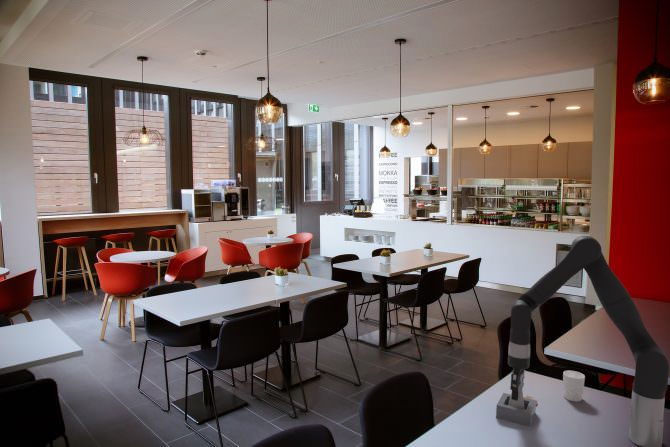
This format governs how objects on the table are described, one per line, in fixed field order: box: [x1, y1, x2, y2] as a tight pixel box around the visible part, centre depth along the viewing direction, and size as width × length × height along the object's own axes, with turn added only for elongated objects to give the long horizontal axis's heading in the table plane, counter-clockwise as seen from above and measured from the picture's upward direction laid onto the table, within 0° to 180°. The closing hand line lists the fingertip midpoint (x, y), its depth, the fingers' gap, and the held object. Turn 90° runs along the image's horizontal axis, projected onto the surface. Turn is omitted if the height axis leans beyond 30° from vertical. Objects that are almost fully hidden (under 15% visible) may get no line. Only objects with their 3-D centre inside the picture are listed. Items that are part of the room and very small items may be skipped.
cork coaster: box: [523, 394, 538, 406], centre depth 190 cm, size 9×9×1 cm
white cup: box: [562, 370, 586, 403], centre depth 193 cm, size 8×8×10 cm
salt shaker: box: [508, 379, 525, 410], centre depth 178 cm, size 6×6×13 cm
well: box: [495, 392, 537, 427], centre depth 178 cm, size 12×12×5 cm
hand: (516, 395), depth 178 cm, fingers open, 8 cm apart
